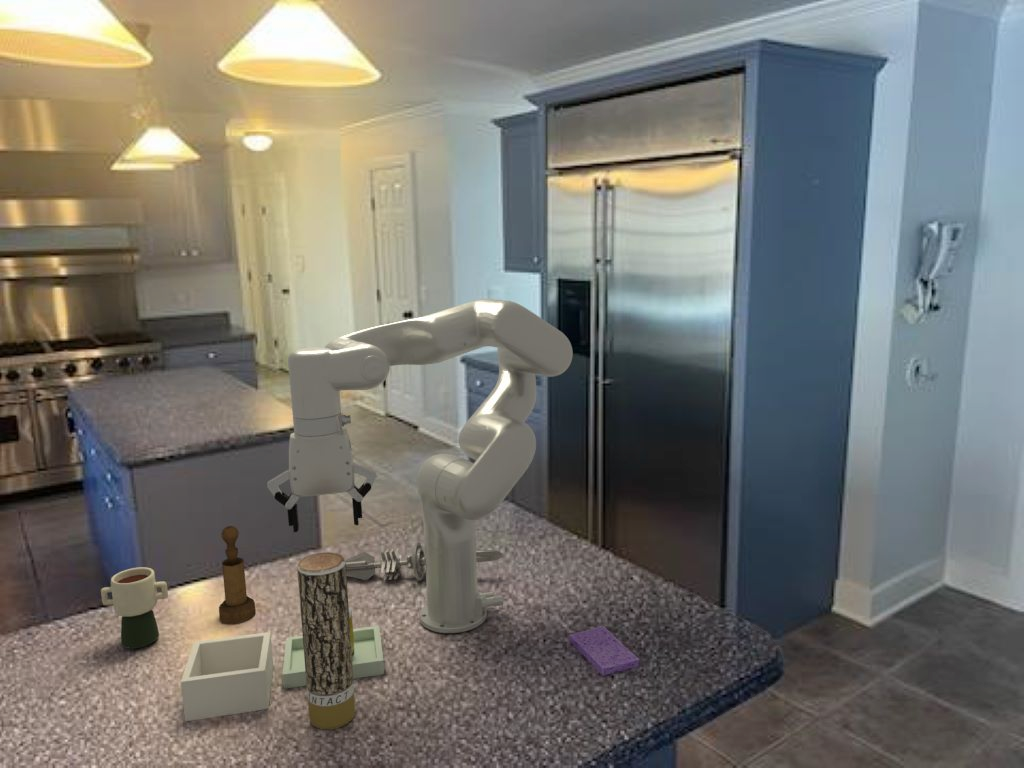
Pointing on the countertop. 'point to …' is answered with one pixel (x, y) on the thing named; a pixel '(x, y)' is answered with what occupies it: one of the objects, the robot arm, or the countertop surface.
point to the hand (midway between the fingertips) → (326, 525)
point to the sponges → (604, 650)
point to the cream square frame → (228, 676)
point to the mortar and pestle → (234, 583)
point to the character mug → (135, 604)
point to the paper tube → (326, 639)
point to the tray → (363, 661)
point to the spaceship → (400, 563)
